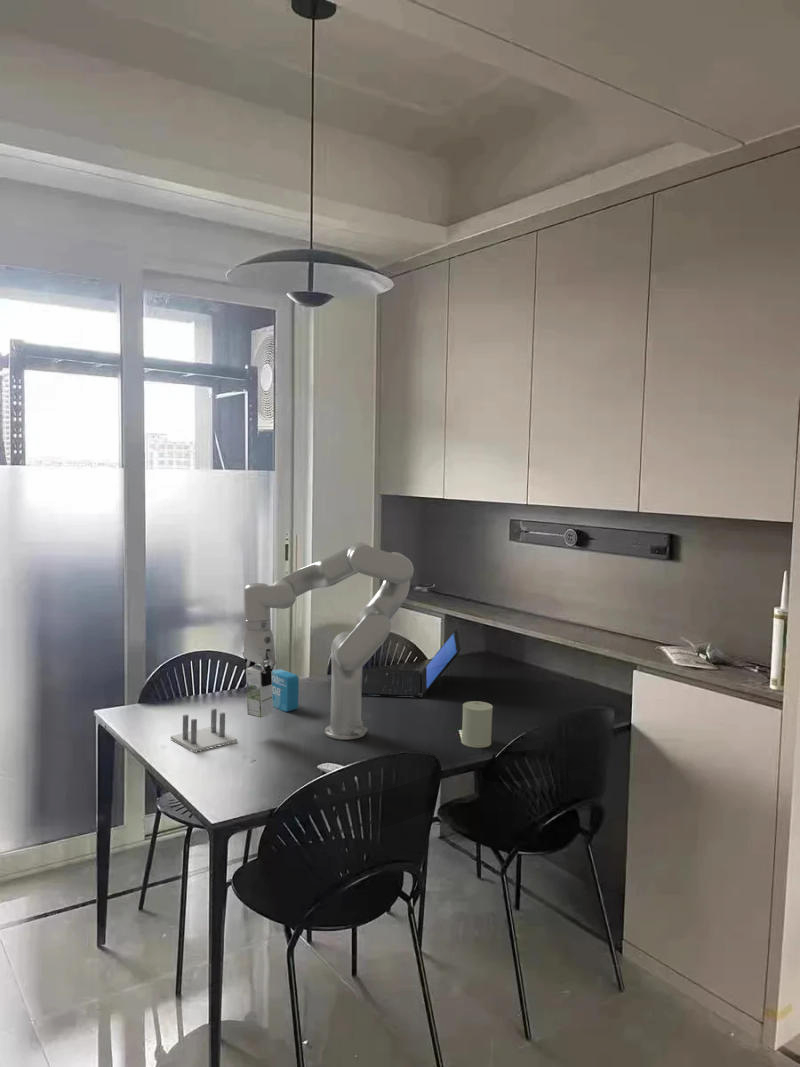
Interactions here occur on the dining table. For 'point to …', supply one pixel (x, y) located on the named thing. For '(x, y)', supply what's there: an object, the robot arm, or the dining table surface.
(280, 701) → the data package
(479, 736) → the can
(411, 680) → the laptop
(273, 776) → the dining table surface
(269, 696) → the syrup box
